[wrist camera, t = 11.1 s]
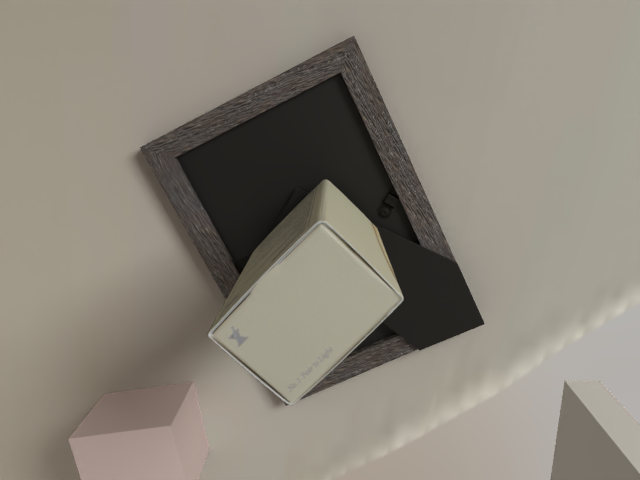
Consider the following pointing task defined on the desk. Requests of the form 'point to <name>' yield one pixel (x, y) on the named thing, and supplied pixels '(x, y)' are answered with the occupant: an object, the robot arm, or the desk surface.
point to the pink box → (142, 436)
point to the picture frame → (303, 177)
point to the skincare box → (308, 295)
